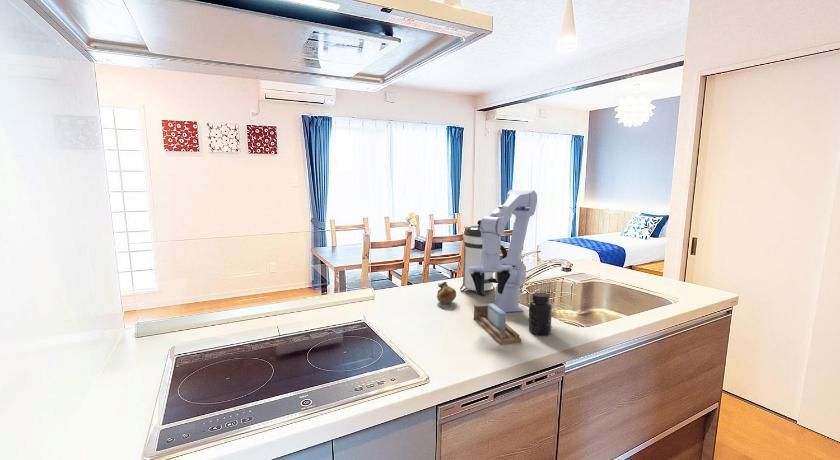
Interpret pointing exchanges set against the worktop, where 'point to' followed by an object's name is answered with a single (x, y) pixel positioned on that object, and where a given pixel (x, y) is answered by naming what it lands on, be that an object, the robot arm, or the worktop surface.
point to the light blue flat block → (496, 317)
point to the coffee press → (476, 259)
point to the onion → (445, 293)
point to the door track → (500, 337)
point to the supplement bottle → (540, 314)
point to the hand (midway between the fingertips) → (489, 293)
